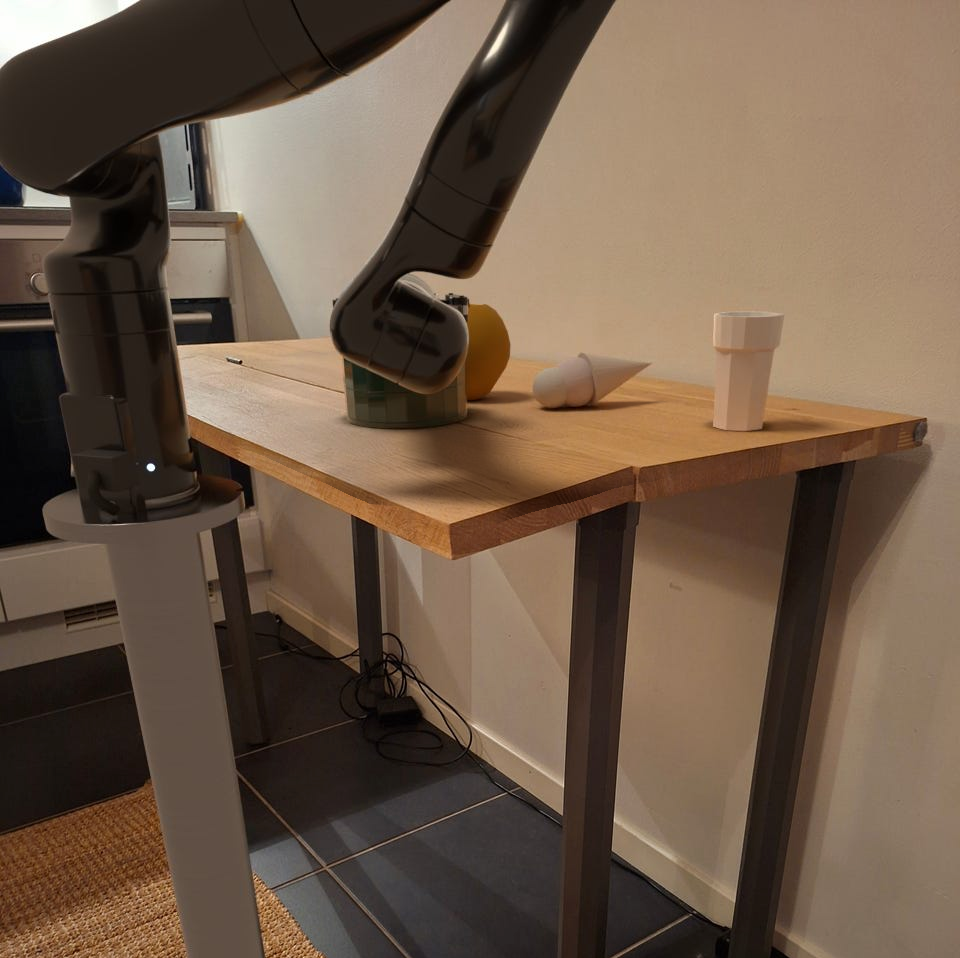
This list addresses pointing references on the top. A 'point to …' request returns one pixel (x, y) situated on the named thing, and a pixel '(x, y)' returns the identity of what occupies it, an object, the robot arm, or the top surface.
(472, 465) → the top surface
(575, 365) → the ice cream cone
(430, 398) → the pot
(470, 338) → the apple
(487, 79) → the robot arm
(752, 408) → the cup
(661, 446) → the top surface
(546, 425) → the top surface
